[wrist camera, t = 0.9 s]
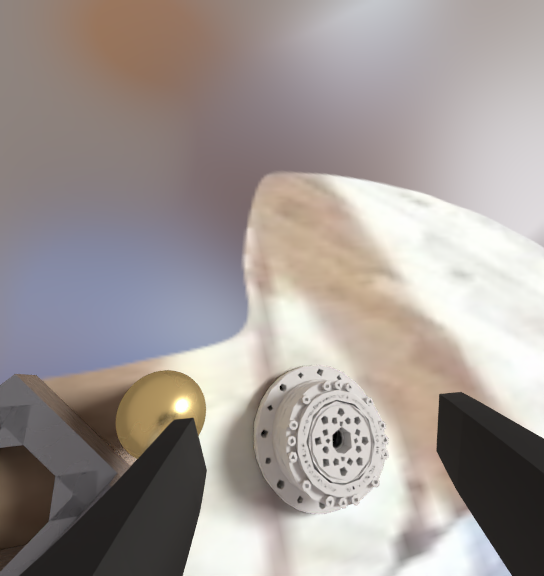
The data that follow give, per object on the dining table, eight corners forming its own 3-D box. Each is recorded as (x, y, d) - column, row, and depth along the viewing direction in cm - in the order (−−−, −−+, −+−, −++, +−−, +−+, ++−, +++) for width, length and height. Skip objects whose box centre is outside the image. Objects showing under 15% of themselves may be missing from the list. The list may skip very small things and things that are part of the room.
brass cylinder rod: (167, 449, 19) (159, 483, 12) (124, 408, 19) (95, 420, 12) (210, 400, 20) (222, 408, 14) (170, 363, 21) (165, 353, 14)
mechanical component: (256, 362, 23) (247, 511, 19) (272, 357, 19) (265, 544, 15) (363, 369, 25) (372, 501, 22) (397, 366, 21) (415, 527, 18)
